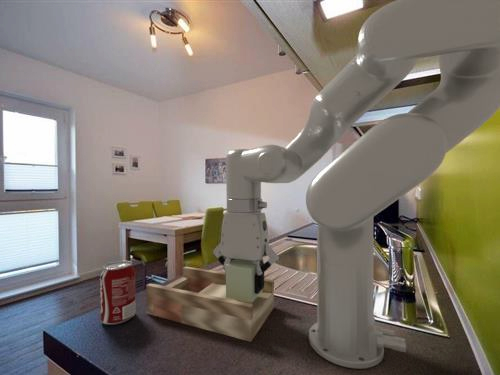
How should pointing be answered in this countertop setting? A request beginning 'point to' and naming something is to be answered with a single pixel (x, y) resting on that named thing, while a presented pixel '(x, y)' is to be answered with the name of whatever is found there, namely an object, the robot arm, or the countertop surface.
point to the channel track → (210, 304)
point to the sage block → (241, 280)
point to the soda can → (117, 292)
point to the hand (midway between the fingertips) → (244, 288)
